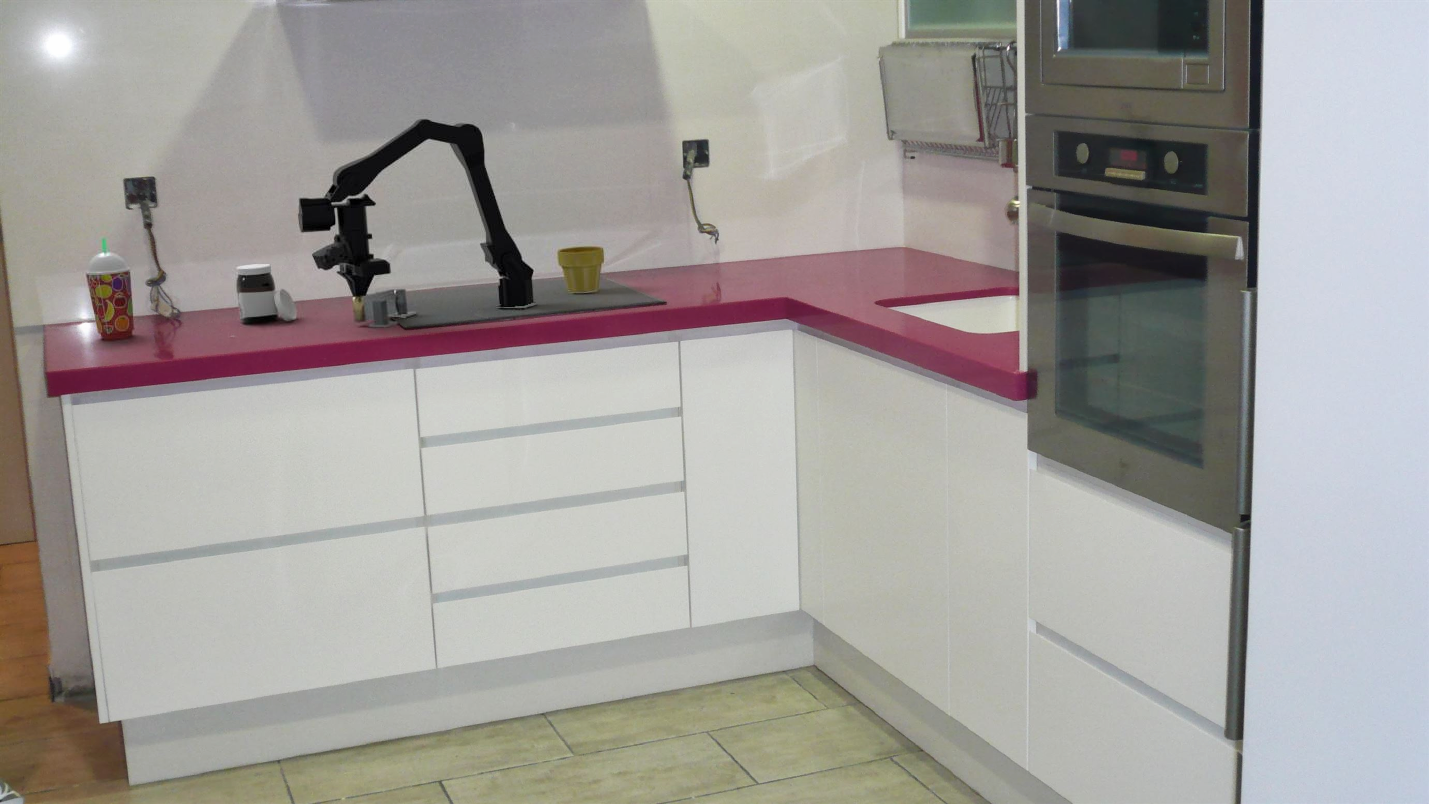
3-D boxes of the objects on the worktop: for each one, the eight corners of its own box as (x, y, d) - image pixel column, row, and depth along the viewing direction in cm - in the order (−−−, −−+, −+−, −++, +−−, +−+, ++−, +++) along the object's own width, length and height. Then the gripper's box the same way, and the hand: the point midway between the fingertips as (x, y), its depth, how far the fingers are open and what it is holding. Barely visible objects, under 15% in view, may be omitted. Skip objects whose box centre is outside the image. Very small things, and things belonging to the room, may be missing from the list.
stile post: (397, 324, 287) (395, 299, 286) (386, 327, 283) (384, 303, 282) (381, 323, 288) (378, 299, 287) (369, 327, 285) (367, 302, 284)
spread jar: (238, 319, 300) (231, 265, 298) (293, 314, 304) (287, 260, 302) (243, 328, 289) (237, 272, 287) (300, 322, 294) (294, 266, 291)
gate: (390, 312, 295) (387, 288, 294) (398, 313, 294) (395, 289, 293) (352, 321, 286) (349, 297, 285) (360, 322, 285) (358, 297, 284)
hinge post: (417, 314, 298) (415, 288, 296) (404, 318, 293) (402, 292, 292) (397, 313, 300) (395, 287, 298) (384, 317, 295) (381, 291, 294)
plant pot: (551, 295, 315) (548, 251, 313) (573, 288, 325) (570, 245, 322) (593, 296, 312) (590, 252, 309) (613, 289, 321) (611, 246, 319)
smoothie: (102, 334, 288) (88, 236, 284) (144, 332, 289) (131, 234, 284) (88, 342, 280) (74, 241, 275) (131, 340, 281) (118, 239, 276)
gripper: (295, 229, 287) (302, 304, 291) (336, 237, 273) (343, 317, 277) (346, 223, 294) (352, 297, 298) (389, 232, 280) (394, 309, 284)
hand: (359, 305), depth 289 cm, fingers closed
